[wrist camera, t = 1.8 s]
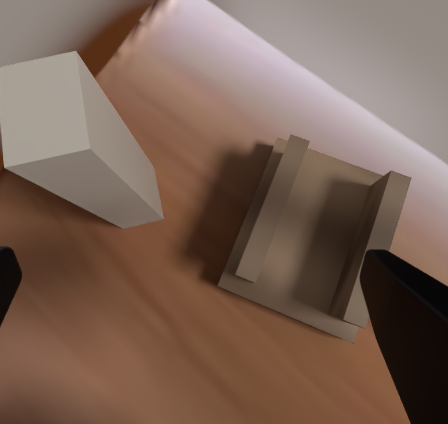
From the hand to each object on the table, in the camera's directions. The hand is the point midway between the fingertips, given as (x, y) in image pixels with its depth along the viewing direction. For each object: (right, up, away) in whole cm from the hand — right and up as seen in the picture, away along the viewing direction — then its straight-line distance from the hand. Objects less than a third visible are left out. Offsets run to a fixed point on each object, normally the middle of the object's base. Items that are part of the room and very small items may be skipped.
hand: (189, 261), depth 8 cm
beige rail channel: (+7, 0, +15) cm, 16 cm away
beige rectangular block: (-5, +2, +16) cm, 17 cm away
